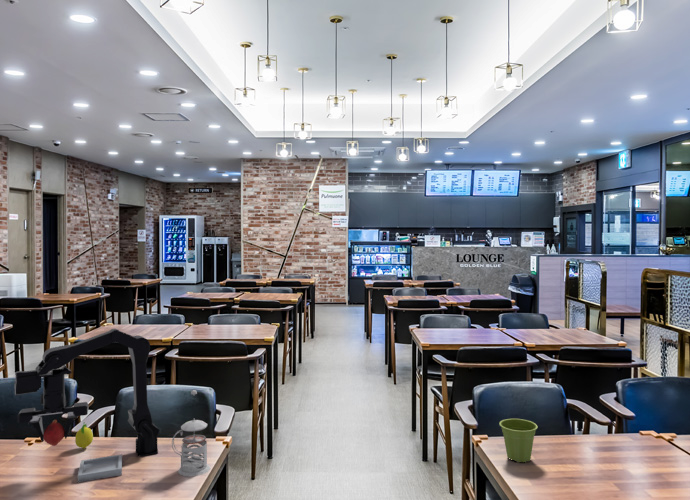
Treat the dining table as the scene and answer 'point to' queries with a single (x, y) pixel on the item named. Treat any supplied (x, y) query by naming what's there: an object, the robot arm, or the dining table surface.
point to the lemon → (84, 437)
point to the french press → (193, 449)
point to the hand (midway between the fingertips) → (54, 439)
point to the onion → (54, 433)
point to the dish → (100, 468)
